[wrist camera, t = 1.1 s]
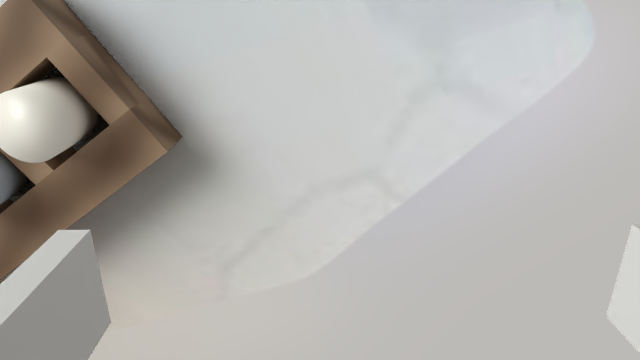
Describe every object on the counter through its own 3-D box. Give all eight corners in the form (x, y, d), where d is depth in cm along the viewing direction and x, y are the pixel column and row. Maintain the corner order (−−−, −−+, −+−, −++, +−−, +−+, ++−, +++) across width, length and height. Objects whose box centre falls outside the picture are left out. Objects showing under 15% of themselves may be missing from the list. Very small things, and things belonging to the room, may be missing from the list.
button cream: (16, 103, 35) (-30, 119, 30) (61, 63, 34) (21, 74, 29) (66, 153, 36) (30, 176, 32) (111, 117, 35) (80, 135, 31)
